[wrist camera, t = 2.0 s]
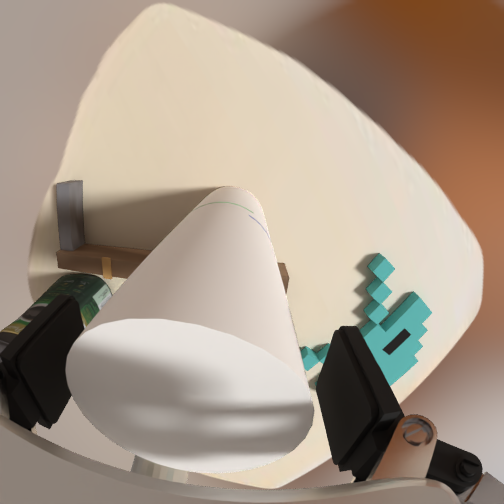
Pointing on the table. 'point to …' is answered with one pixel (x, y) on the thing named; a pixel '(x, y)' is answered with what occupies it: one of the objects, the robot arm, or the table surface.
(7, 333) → the coffee jar
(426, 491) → the robot arm
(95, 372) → the cylindrical container
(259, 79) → the table surface
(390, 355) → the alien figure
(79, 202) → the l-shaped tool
